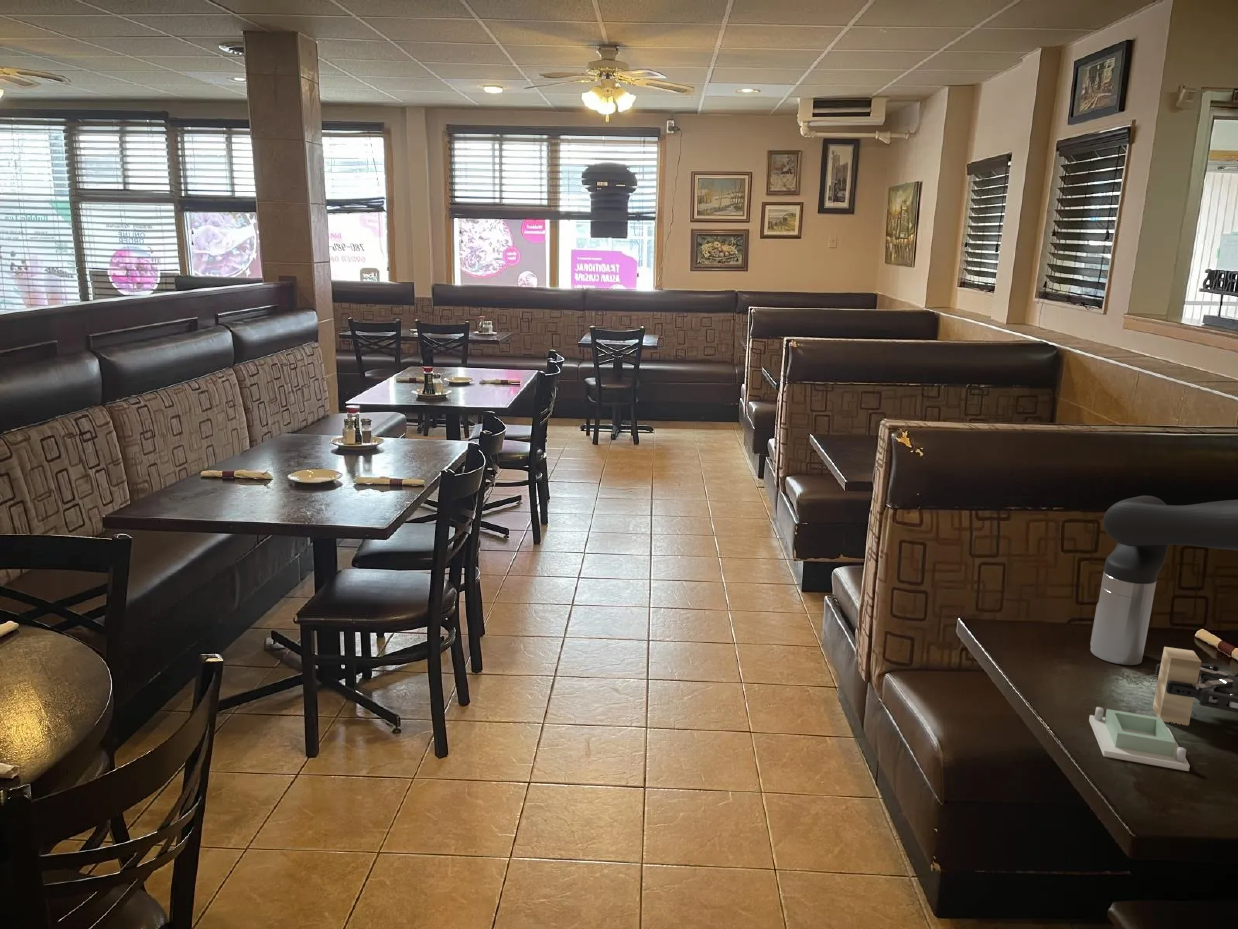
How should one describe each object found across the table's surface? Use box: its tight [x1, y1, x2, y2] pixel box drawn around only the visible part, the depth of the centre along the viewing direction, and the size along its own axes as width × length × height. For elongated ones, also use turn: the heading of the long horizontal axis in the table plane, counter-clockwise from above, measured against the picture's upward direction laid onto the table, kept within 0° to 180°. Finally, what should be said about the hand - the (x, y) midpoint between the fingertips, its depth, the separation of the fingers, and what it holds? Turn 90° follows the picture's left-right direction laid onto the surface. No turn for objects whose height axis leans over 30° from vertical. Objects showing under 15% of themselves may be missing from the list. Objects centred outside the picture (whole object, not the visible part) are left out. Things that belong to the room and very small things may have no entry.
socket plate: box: [1088, 706, 1191, 772], centre depth 144 cm, size 12×12×4 cm
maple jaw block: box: [1152, 646, 1202, 726], centre depth 153 cm, size 4×4×12 cm
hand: (1161, 678), depth 153 cm, fingers open, 6 cm apart
